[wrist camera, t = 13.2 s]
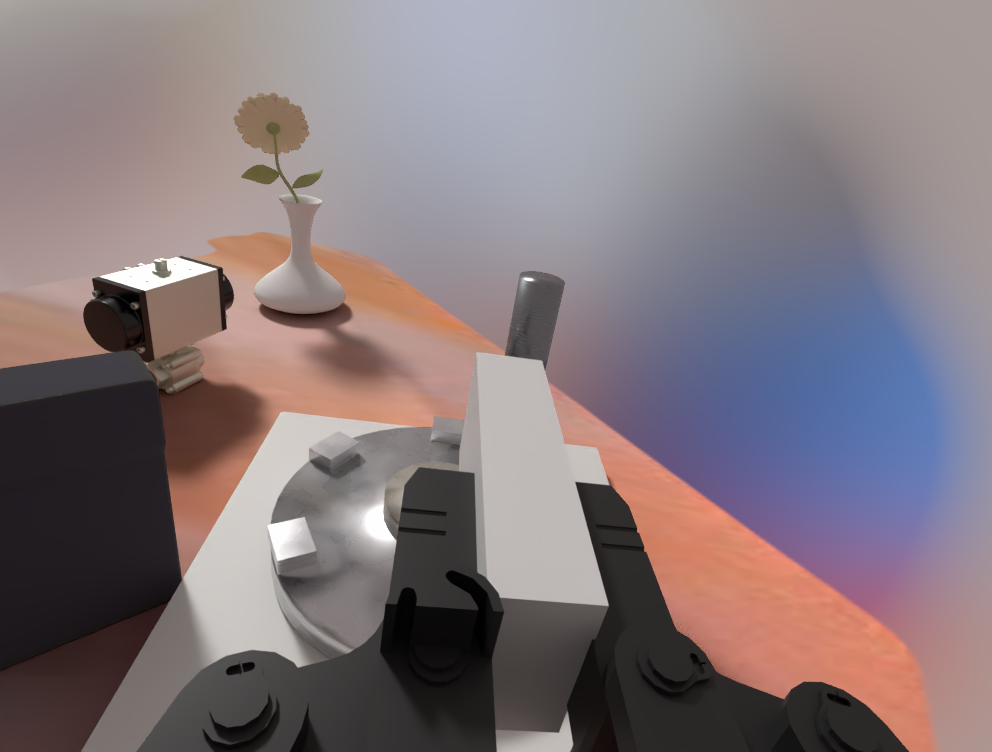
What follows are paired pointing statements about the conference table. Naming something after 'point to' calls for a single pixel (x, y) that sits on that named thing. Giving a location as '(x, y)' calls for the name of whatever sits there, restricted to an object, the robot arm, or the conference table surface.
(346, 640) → the round disc with peg
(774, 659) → the conference table surface
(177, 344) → the pneumatic valve
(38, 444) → the black upright block
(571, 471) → the robot arm
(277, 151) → the flower in vase
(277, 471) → the base plate
